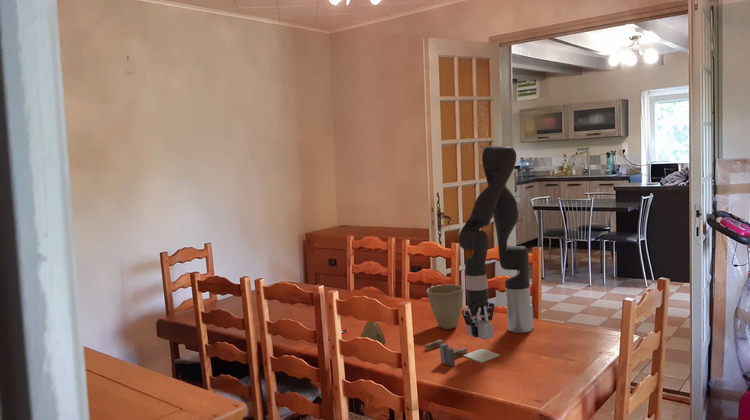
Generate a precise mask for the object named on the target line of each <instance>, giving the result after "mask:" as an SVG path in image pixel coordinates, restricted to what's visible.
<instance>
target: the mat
mask: <svg viewBox="0 0 750 420" xmlns="http://www.w3.org/2000/svg"><path fill="white" fill-rule="evenodd" d="M500 356H501V354H499V353H496V352H493V351H491V350H487V349H484V348H480V349H477V350H473V351H471V352H469V353H468V352H467V354H465V355H463V356H462V357H464V358H467V359H469V360H472V361H475V362H477V363H479V364H480V363H484V362H487V361H489V360H492V359H495V358H498V357H500Z"/></svg>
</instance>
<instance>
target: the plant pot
mask: <svg viewBox="0 0 750 420" xmlns="http://www.w3.org/2000/svg"><path fill="white" fill-rule="evenodd" d="M463 290H464V288H463V286H462V285H459V284H440V285H434V286H431V287H429V288H427V289H426V294H427V297H428V302H429V306H430V309H431V310H432V313H433V316H434V318H435V320H436V323H437V325H438V327H439V328H440V327H441V328H440V329H442V328H444V330H451V329H455V328H457V327H458V324H459V320H460V316H461V313H462V306H463V295H464V294H463V293H464V291H463Z"/></svg>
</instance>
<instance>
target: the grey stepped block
mask: <svg viewBox="0 0 750 420" xmlns="http://www.w3.org/2000/svg"><path fill="white" fill-rule="evenodd" d="M439 350H440V351H439V352H440V362H441V364H442V363H443V365H445V364H447V366H449V365H450V366H449V367H451V366H453V367H456V366H455V365H456V364H455V362H456V361H455V358H454V351H455V349H454V348H453V347H450V346H449V344H447V343H445V342H443V344H440V347H439Z"/></svg>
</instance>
